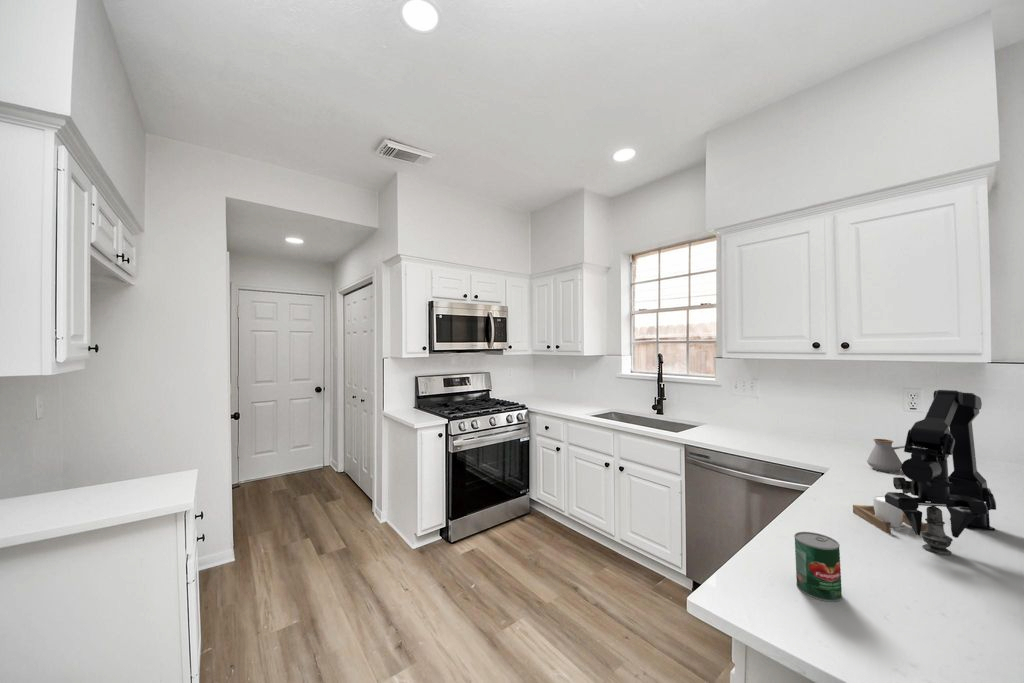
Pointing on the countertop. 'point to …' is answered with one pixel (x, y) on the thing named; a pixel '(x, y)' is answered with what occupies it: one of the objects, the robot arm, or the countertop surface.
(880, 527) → the wooden stand
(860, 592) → the countertop surface
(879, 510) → the white tapered cup
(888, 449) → the coffee pot
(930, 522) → the salt shaker
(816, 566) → the canned tomato
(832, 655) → the countertop surface
